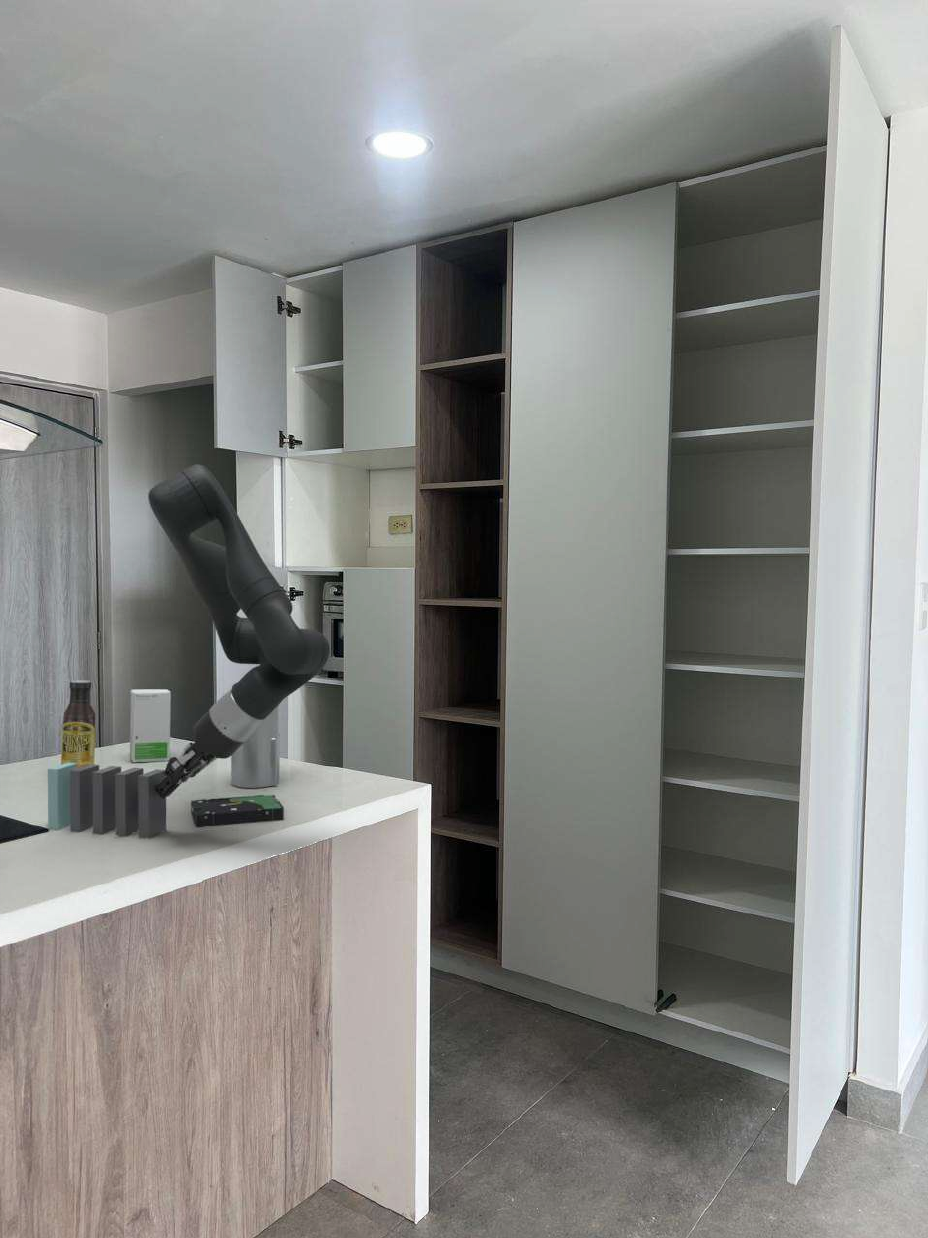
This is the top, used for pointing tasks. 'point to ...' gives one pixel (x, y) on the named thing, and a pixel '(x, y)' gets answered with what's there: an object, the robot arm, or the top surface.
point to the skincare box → (150, 725)
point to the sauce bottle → (78, 726)
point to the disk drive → (236, 810)
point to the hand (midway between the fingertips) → (161, 793)
